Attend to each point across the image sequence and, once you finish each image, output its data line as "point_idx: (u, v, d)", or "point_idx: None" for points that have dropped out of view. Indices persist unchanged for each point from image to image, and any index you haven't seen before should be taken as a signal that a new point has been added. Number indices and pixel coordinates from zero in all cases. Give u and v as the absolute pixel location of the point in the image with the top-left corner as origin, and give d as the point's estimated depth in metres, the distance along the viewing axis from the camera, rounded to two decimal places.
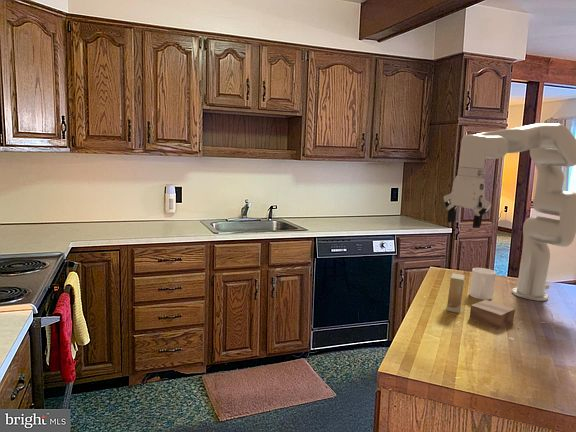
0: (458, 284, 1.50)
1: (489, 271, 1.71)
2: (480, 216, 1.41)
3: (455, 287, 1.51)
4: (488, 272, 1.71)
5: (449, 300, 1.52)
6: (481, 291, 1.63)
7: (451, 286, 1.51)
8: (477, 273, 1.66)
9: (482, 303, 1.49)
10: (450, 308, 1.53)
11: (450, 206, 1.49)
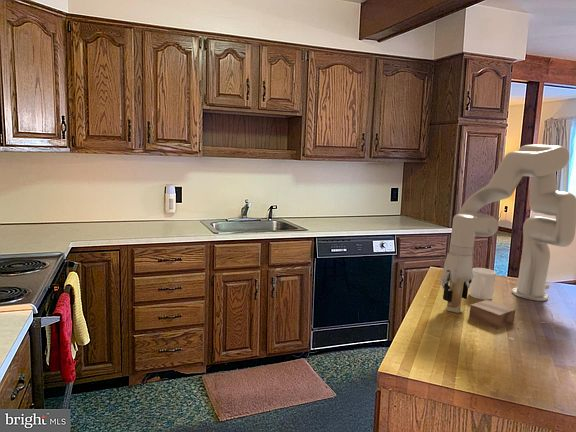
0: (458, 284, 1.50)
1: (489, 271, 1.71)
2: None
3: (455, 287, 1.51)
4: (488, 272, 1.71)
5: None
6: (481, 291, 1.63)
7: None
8: (477, 273, 1.66)
9: (482, 303, 1.49)
10: (450, 308, 1.53)
11: (452, 287, 1.50)
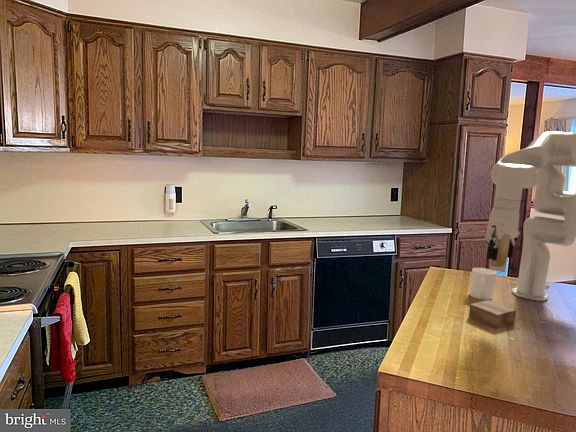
0: (504, 240, 1.39)
1: (489, 271, 1.71)
2: None
3: (501, 244, 1.40)
4: (488, 272, 1.71)
5: None
6: (481, 291, 1.63)
7: None
8: (477, 273, 1.66)
9: (483, 302, 1.50)
10: (495, 267, 1.42)
11: (497, 243, 1.39)
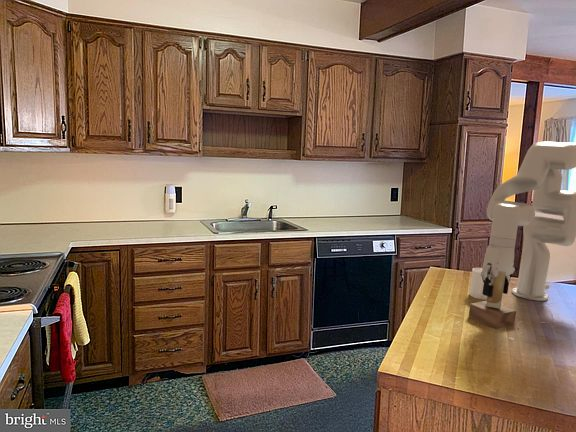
0: (499, 278, 1.41)
1: None
2: None
3: (496, 281, 1.42)
4: None
5: None
6: (481, 291, 1.63)
7: None
8: (477, 273, 1.66)
9: (483, 302, 1.50)
10: (490, 303, 1.44)
11: (493, 281, 1.41)
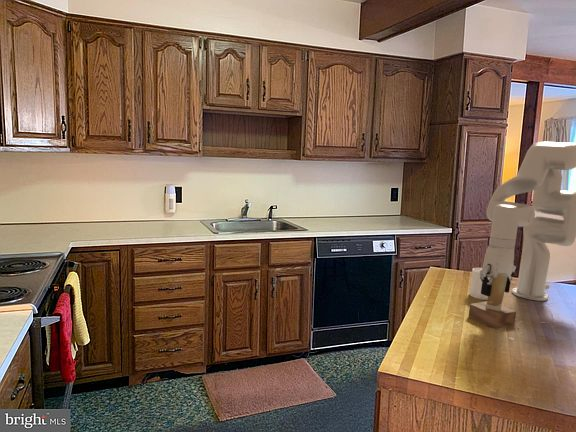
0: (501, 281, 1.41)
1: None
2: None
3: (497, 284, 1.42)
4: None
5: (489, 298, 1.43)
6: None
7: (493, 283, 1.42)
8: (477, 273, 1.66)
9: (483, 303, 1.50)
10: (491, 306, 1.43)
11: (491, 280, 1.41)
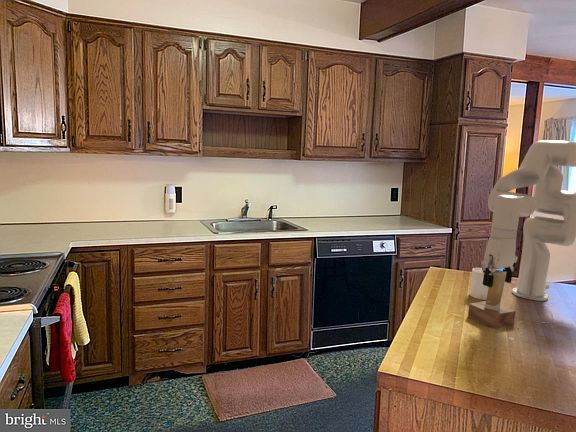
0: (499, 281, 1.41)
1: None
2: None
3: (495, 284, 1.41)
4: None
5: (487, 297, 1.43)
6: (481, 291, 1.63)
7: None
8: (477, 273, 1.66)
9: (483, 303, 1.50)
10: (489, 305, 1.43)
11: (493, 271, 1.41)
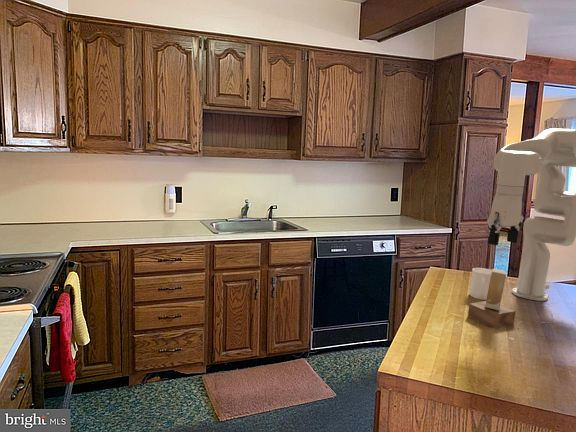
0: (500, 279, 1.41)
1: (489, 271, 1.71)
2: None
3: (496, 282, 1.42)
4: (488, 272, 1.71)
5: (488, 296, 1.43)
6: (481, 291, 1.63)
7: (492, 281, 1.42)
8: (477, 273, 1.66)
9: (483, 303, 1.50)
10: (489, 304, 1.43)
11: (499, 228, 1.39)
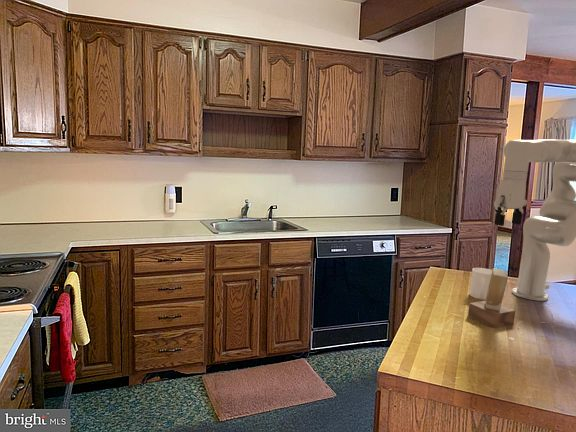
0: (501, 282, 1.40)
1: (489, 271, 1.71)
2: None
3: (498, 285, 1.41)
4: (488, 272, 1.71)
5: (489, 298, 1.43)
6: (481, 291, 1.63)
7: (493, 283, 1.41)
8: (477, 273, 1.66)
9: (483, 302, 1.50)
10: (490, 305, 1.43)
11: (504, 210, 1.51)
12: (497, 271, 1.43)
